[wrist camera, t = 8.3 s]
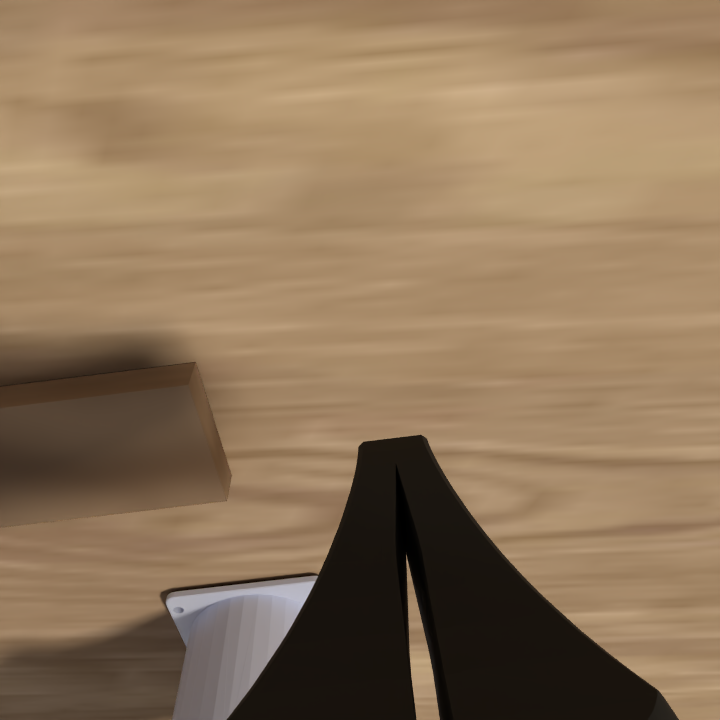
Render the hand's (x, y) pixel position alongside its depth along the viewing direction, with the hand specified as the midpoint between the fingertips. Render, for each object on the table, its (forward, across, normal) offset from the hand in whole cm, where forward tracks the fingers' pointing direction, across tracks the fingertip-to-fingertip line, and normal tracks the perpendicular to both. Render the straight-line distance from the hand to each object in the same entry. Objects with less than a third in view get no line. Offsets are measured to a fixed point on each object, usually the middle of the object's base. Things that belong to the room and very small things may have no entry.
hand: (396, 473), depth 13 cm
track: (+10, +18, +6) cm, 22 cm away
